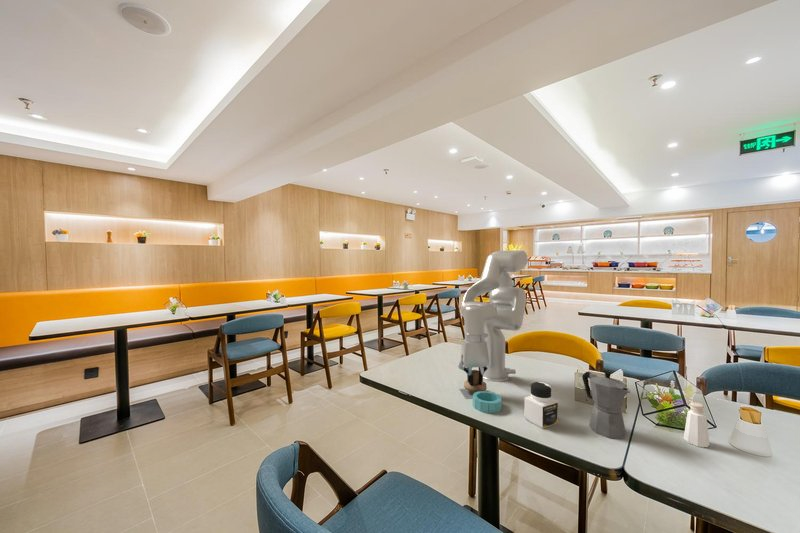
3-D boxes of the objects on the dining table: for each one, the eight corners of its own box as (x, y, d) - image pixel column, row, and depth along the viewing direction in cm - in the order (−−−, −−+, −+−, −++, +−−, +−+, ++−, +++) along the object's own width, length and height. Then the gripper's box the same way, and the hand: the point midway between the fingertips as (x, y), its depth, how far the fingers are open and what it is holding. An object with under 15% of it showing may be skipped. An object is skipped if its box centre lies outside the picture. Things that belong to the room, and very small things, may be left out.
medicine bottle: (542, 429, 93) (543, 390, 93) (523, 418, 100) (524, 382, 100) (557, 423, 97) (558, 386, 97) (538, 413, 103) (538, 378, 103)
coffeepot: (641, 440, 88) (641, 378, 88) (615, 445, 85) (616, 381, 85) (593, 414, 103) (594, 361, 102) (571, 418, 100) (571, 363, 100)
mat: (480, 389, 123) (480, 388, 123) (489, 399, 114) (489, 397, 114) (459, 390, 122) (459, 388, 122) (465, 400, 113) (466, 398, 113)
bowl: (494, 401, 112) (494, 390, 112) (505, 414, 103) (506, 402, 103) (469, 402, 111) (469, 391, 111) (478, 415, 102) (478, 403, 102)
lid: (481, 381, 123) (481, 366, 123) (489, 391, 115) (489, 374, 115) (461, 382, 123) (461, 367, 122) (468, 392, 114) (467, 376, 114)
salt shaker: (682, 434, 91) (683, 398, 91) (708, 441, 87) (708, 403, 87) (684, 443, 86) (684, 404, 86) (711, 450, 83) (711, 410, 83)
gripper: (491, 333, 122) (491, 378, 123) (451, 335, 121) (452, 381, 122) (498, 339, 115) (499, 386, 116) (456, 341, 113) (457, 389, 114)
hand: (475, 383), depth 119 cm, fingers closed on lid, 3 cm apart
